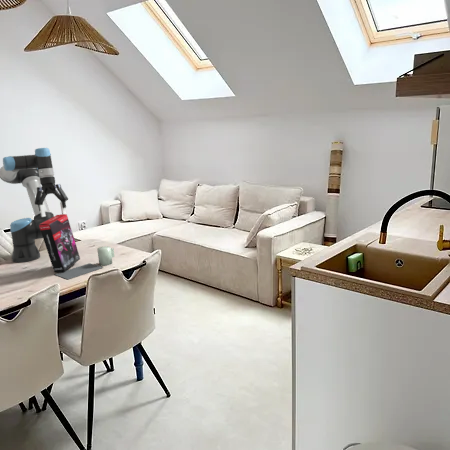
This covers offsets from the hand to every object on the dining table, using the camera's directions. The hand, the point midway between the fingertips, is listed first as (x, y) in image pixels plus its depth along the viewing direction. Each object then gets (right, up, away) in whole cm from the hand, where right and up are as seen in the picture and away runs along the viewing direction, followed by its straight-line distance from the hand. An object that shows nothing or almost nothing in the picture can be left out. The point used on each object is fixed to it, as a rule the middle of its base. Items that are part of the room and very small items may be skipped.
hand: (53, 215), depth 232 cm
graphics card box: (+9, -28, -3) cm, 29 cm away
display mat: (+17, -30, -9) cm, 35 cm away
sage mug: (+29, -26, +2) cm, 39 cm away
